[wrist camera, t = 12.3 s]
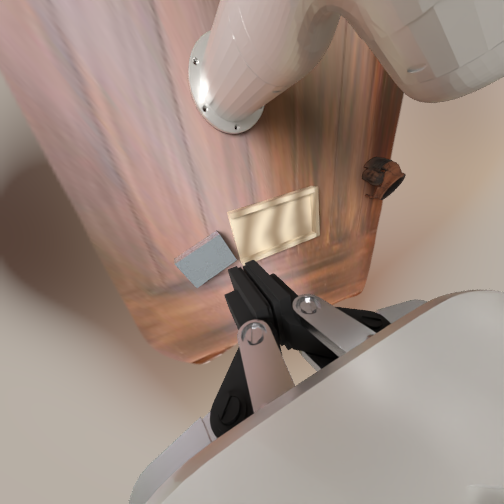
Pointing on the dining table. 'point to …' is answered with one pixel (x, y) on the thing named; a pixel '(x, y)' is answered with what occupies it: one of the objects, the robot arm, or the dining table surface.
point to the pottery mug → (383, 176)
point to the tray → (275, 224)
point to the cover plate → (205, 259)
